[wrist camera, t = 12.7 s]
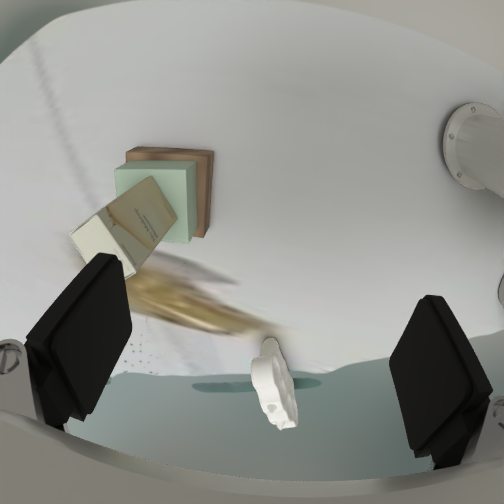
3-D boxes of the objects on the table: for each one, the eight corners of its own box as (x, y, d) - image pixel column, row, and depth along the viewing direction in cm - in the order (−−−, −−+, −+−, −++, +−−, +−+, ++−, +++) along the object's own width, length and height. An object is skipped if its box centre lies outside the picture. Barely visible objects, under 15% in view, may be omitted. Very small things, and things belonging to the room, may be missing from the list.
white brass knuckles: (282, 385, 61) (280, 445, 49) (255, 326, 54) (247, 394, 41) (297, 383, 61) (298, 443, 48) (273, 322, 53) (270, 391, 40)
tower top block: (196, 160, 37) (185, 169, 33) (197, 227, 41) (188, 243, 37) (130, 160, 37) (113, 169, 33) (135, 223, 41) (122, 238, 37)
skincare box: (179, 218, 36) (140, 274, 25) (150, 233, 37) (107, 291, 26) (150, 172, 33) (97, 212, 22) (122, 191, 34) (66, 236, 24)
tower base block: (214, 150, 40) (207, 156, 36) (210, 224, 46) (203, 237, 42) (139, 145, 40) (125, 152, 37) (140, 216, 46) (128, 228, 42)
